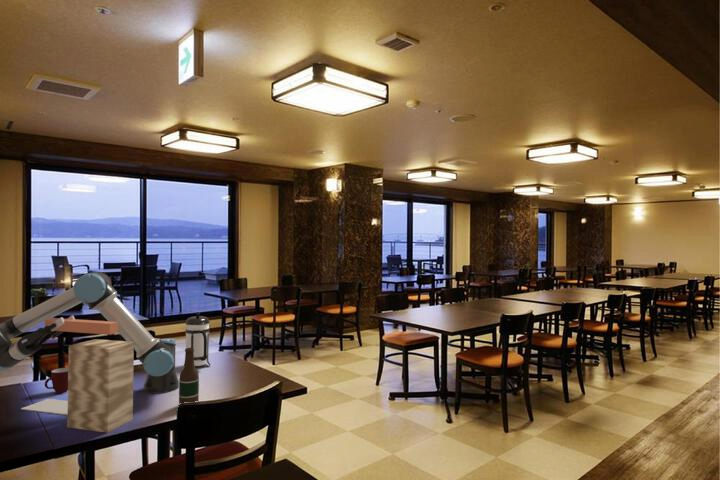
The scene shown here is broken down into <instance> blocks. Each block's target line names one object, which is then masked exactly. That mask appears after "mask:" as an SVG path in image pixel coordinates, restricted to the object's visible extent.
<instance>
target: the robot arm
mask: <svg viewBox="0 0 720 480" xmlns="http://www.w3.org/2000/svg"><path fill="white" fill-rule="evenodd" d="M117 293H118V291H117V290H116V289H115V287H114V286H113V285H112V280H111V278H110V277H109V276H108V275H107V274H106V273H105V272H100V271H94V272H89V273H88V272H87V273H84V274H83V275H81V276H79V278H78V279H76V281H75V282H74V284H73V287H71V288H69V289H67V290H65V291H63V292H61V293H59V294H57V295H55V296H53V297H51V298H49V299H46V300H45V301H43V302H41V303H40V304H37V305H35V306H33V307H31V308H30V309H27V310H26V311H23V312H22V313H20V314H18V315H16V316H14V317H12V318H9V319H7V320H5V321H4V322H1V323H0V372H1V371H7V370H9V369H10V368H12V367H14V366H16V365H18V364H19V363H20V362H22V361H23V360H24V361H25V360H27V358H28V357H29V356H31V355H34V353H36V352H38V351H39V350H40V349H41V348H42V346H43V344H44V343H46V342H47V341H49V340H50V339H52V340H54V339H56V338H57V337H58V336H59V335H61V334H63V333H64V332H65V331H54V330H56V329H58V328H59V327H61V326H62V325H64V324H65V321H64V319H65V318H64V317H59V319H58V320H56V321H55V322H53V323H52V324H50V325H49V326H46V327H45V326H44V327H40V328H38V329H36V330H35V331H33V332H31V333H28V334H25V335H24V336H23V337H21V338H19V339H17V340H15V341H14V342H13V341H12V340H11V339H14V338H16V337H18V336H19V335H21V334H23V333H26V332H27V331H29V330H31V329H33V328H35V327H37V326H39V325H41V324H43V323H45V320H46V319H51V318H53V317H54V318H55V317H56V316H59V315H60V314H62V313H63V312H66V311H68V310H69V309H73V307H75V306H78V305H79V304H82V303H85V304H86V305H87V306H88V307H89V308H90V310H92V311H98V312H99V313H100V314H101V315H102V316H103V318H105V319H106V320H107V321H110V322H118V333H119V335H120V336H121V337H123V339H124V340H125V341H127V342H134V351H135V352H136V358H137V360H138V361H139V362H140V363H141V364H142V365H143V369H144V372H146V373H147V375H146V378H145V381H144V384H143V392H145V393H148V394H149V393H150V394H162V393H166V392H168V393H169V392H171V391H175V390H177V389H179V378H178V375H177V372H176V345H177V344H176V340H175V338H156V337H153V335H152V334H151V333H150V332H149V330H148V329H146V328H145V327H144V325H143V324H142V323H141V322H140V321H139V320H138V319H137V318H136V317H135V316H134V314H133V313H132V312H131V311H130V310H129V309H128V308H127V307H126V306H125V305H124V304H123V302H122V301H121V300H120V299H119V298H118V296H117V295H118V294H117ZM66 319H76V318H75V316H74V315H70V316H69V317H68V318H66Z"/></svg>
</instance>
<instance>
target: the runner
mask: <svg viewBox="0 0 720 480" xmlns="http://www.w3.org/2000/svg"><path fill="white" fill-rule="evenodd" d="M20 410H21V411H30V412H37V413H44V414H45V413H47V414H51V415H52V414H53V415H62V416H68V400H65V399H53V398H46V399H43V400H41V401H38V402H36V403H32V404H30V405H27V406H25V407H21V408H20Z"/></svg>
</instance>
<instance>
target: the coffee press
mask: <svg viewBox="0 0 720 480" xmlns="http://www.w3.org/2000/svg"><path fill="white" fill-rule="evenodd" d="M210 323H211V322H210V320H209V318H208V317H207V316H202V315H201V313H200V312H195V316H191V317H188V318H187V319H186V321H185V349H187V348H193V349H194V366H195V367H200V366H206V367H207V368H209V367H211V364H210V362H209V352H210V351H209V350H210V348H209V346H210V345H209V342H210ZM184 365H185V362H184V363H183V366H184Z"/></svg>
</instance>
